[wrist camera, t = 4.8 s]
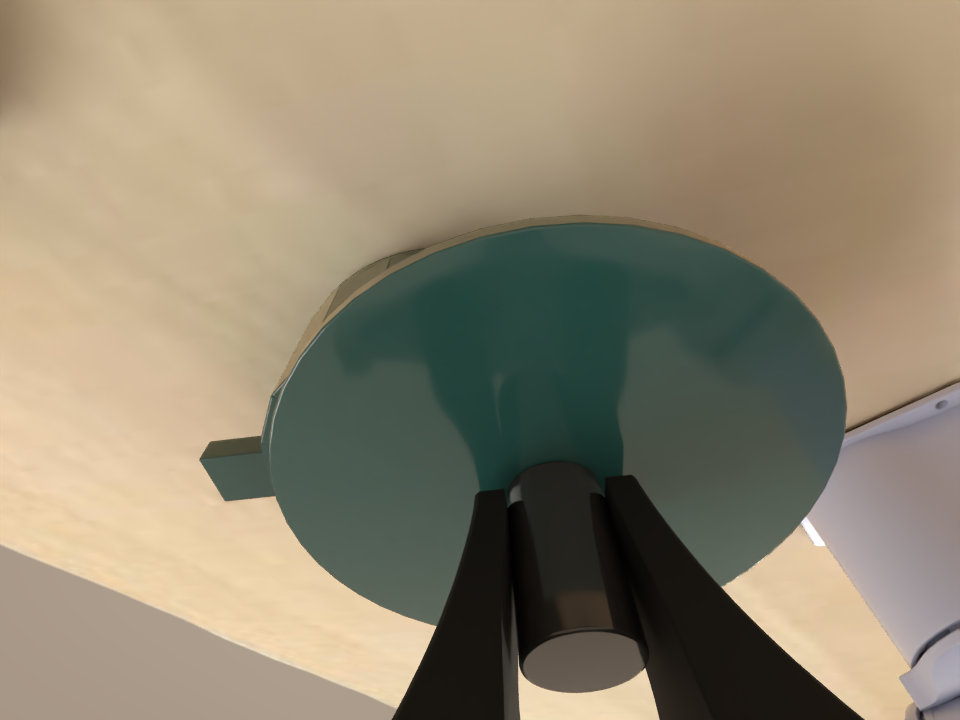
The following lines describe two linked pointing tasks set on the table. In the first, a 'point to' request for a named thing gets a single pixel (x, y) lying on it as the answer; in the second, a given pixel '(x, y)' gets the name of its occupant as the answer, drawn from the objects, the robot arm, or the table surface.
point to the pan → (246, 460)
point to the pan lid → (556, 424)
